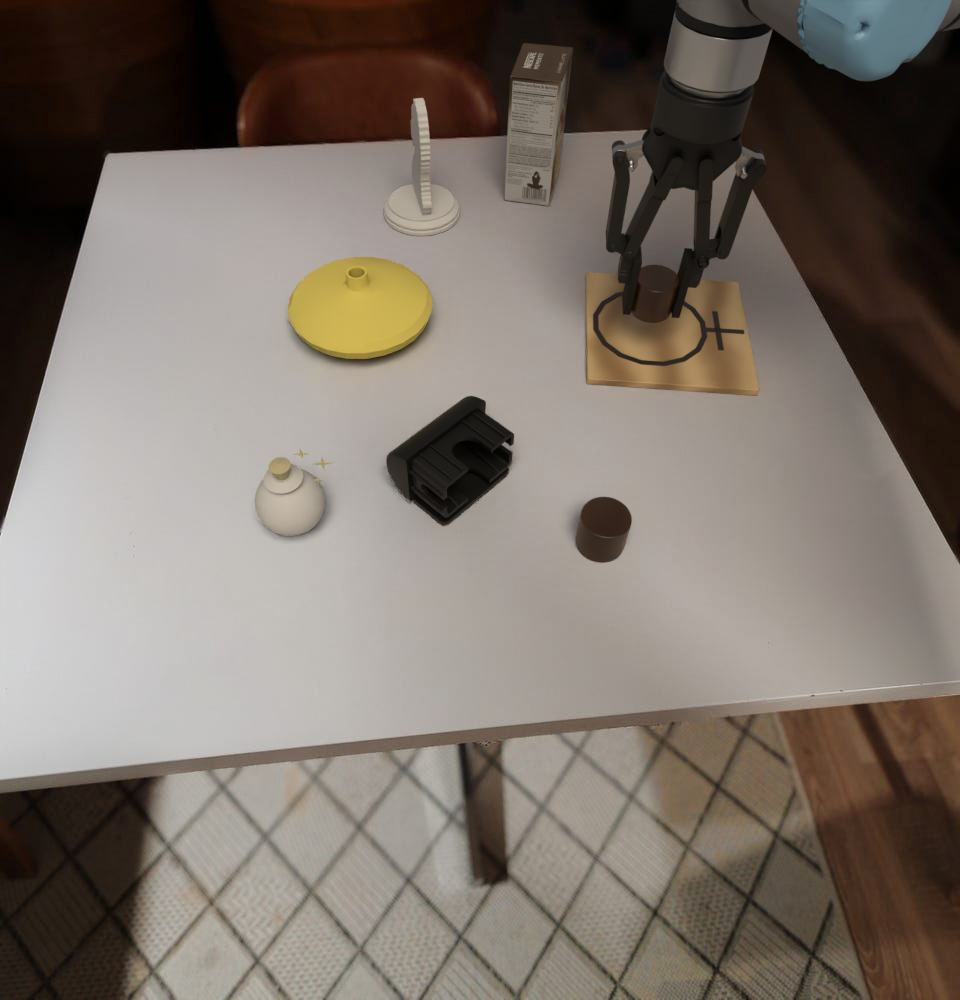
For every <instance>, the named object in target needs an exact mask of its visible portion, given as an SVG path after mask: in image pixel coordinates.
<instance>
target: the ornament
mask: <svg viewBox="0 0 960 1000" xmlns="http://www.w3.org/2000/svg"><path fill="white" fill-rule="evenodd" d="M309 454H310V453H309V452H303V451H302V449H301V448H299V452H297V453H293V454H292V455H294V456H300V457H301V459H302V460H303V459H304V456H305V455H309ZM331 464H333V462H331V461H324V458H323V457H322V456H321V457H320V462H315V463H313V466H315V465H316V466H321V467H322V469H323V470H325V468H326V465H331ZM321 481H324V479H323V478H319V476H317V477H316V476H314V475H313V474H312V473H310V472H309V471H307V470H306V469H302V468H300V467H299V466H298V465H297V464H294V463H291V461H290V459H288V458H287V457H284V456H279V457H275V458H273V459H272V460H270V462H269V463H268V470H266V472H265V474H264V476H263V479H262V480H261V481H260V483H259V484H258V486H257V488H256V491H255V495H254V508H255V512H256V515H257V517H258V519H259V521H260V522H261V523H262V524H263V525H264V526H265V527H266V528H267V529H268V530H270V531H271V532H273V533H275V534H277V535H280V536H285V537H286V536H287V537H292V536H293V537H295V536H299V535H303V534H305V533H307V532H309V531H310V530H312V529H313V528H314V527H316V525H318V523H319V522H320V520H321V519H322V517H323V515H324V512H325V508H326V493H325V490H324V488H323V486H322V484H321Z"/></svg>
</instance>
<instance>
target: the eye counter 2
mask: <svg viewBox="0 0 960 1000" xmlns="http://www.w3.org/2000/svg"><path fill="white" fill-rule="evenodd" d="M677 274H678V273H677V272H676V271H675V270H673V269H672V268H670V267H668V266H665V265H663V264H647V265H644V266H641V270H640V274H639V279H638V283H637V287H636V292H635V296H634V300H633V305H632V309H631V314H632V315H633V316H634V317H635V318H637V319H639V320H641V321H643V322H648V323H659V322H662V321H664V320H666V319H667V318H668V317H669V316H670V314H671V311H672V307H673V304H674V300H675V297H676V293H677V290H678V286H679V277H678V275H677Z"/></svg>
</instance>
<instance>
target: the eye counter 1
mask: <svg viewBox="0 0 960 1000" xmlns="http://www.w3.org/2000/svg"><path fill="white" fill-rule="evenodd" d="M632 521H633V518H632V513H631V511H630V509H629V508H628V507H627V506H626V504H624V503H623V502H622V501H620V500H618V499H617V498H614V497H610V496H598V497H594V498H592V499H590V500H588V501H587V502H586V503H585V504H584V505H583V506H582V508H581V511H580V515H579V520H578V525H577V529H576V533H575V546H576V548H577V550H578V552H579V553H580V554H581V555H582V556H583V557H584V558H586V559H587V560H589V561H592V562H595V563H601V564H602V563H610V562H613V561H615V560H616V559H618V558H619V557H620V556H621V555H622V553H623V551H624V549H625V545H626V543H627V539H628V537H629V536H628V535H629V534H630V533H629V532H630V531H631V527H632V523H633V522H632Z"/></svg>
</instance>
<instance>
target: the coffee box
mask: <svg viewBox="0 0 960 1000" xmlns="http://www.w3.org/2000/svg"><path fill="white" fill-rule="evenodd" d="M573 54H574V47H571V46H559V45H551V44H538V43H530V42H529V43H527V42H524V43H522V45H521V47H520V50H519V52H518V55H517V58H516V61H515V62H514V65H513V68H512V71H511V73H510V76H509V94H508V96H509V97H508V111H507V112H508V113H507V114H508V115H507V133H506V135H507V136H506V153H505V154H506V155H505V172H504V194H503V195H504V196H503V198H504V200H505V201H508V202H516V203H523V204H531V205H538V206H545V207H549V206H550V205H551V202H552V199H553V196H554V193H555V189H556V185H557V181H558V177H559V174H560V171H561V162H562V161H561V160H562V152H563V142H564V134H565V125H566V116H567V106H568V98H569V88H570V79H571V71H572V70H571V69H572V61H573Z"/></svg>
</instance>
